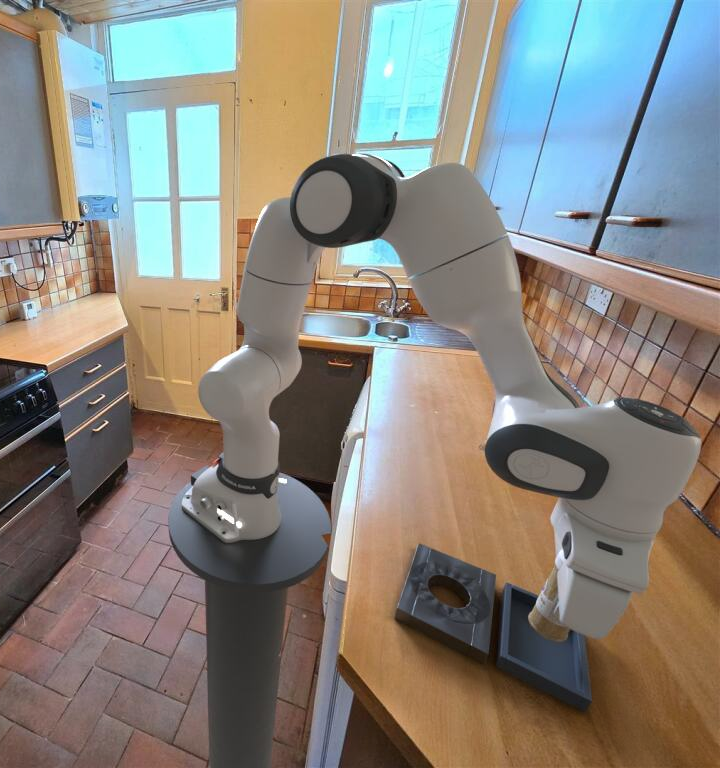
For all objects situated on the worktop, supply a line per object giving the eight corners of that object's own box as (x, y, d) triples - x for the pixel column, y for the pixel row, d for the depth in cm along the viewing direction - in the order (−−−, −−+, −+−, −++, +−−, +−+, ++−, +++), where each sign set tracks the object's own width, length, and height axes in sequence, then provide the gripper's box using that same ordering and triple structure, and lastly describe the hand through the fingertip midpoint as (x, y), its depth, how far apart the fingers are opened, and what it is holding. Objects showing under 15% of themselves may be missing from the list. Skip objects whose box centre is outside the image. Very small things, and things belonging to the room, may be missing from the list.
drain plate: (394, 618, 64) (397, 607, 63) (415, 552, 75) (418, 542, 74) (483, 665, 57) (488, 654, 56) (492, 585, 69) (496, 574, 68)
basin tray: (495, 666, 57) (500, 655, 56) (501, 592, 68) (506, 581, 67) (584, 712, 52) (592, 701, 51) (576, 624, 63) (582, 613, 61)
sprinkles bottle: (527, 607, 61) (558, 541, 55) (566, 624, 58) (602, 556, 53) (527, 632, 58) (560, 564, 52) (568, 650, 55) (608, 581, 49)
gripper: (562, 472, 59) (532, 542, 65) (572, 567, 44) (531, 647, 50) (620, 489, 56) (583, 561, 62) (652, 597, 41) (599, 679, 47)
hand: (560, 600), depth 56 cm, fingers closed on sprinkles bottle, 4 cm apart
